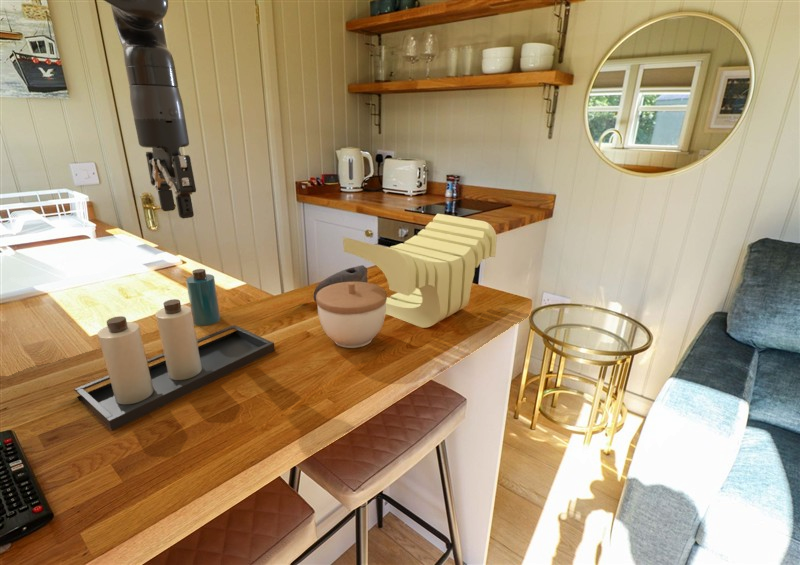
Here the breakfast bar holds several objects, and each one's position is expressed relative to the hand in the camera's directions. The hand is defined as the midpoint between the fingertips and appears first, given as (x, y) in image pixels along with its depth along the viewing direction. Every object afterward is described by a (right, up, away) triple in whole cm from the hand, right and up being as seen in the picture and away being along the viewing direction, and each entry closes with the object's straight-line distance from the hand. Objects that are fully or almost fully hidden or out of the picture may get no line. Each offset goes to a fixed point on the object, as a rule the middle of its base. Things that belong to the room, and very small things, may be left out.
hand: (177, 214), depth 76 cm
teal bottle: (+3, -21, +6) cm, 22 cm away
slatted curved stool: (+45, -19, +15) cm, 51 cm away
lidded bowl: (+31, -23, +3) cm, 39 cm away
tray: (+6, -27, -8) cm, 29 cm away
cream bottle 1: (+1, -29, -14) cm, 32 cm away
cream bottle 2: (+6, -26, -9) cm, 28 cm away
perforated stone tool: (+27, -17, +20) cm, 37 cm away
